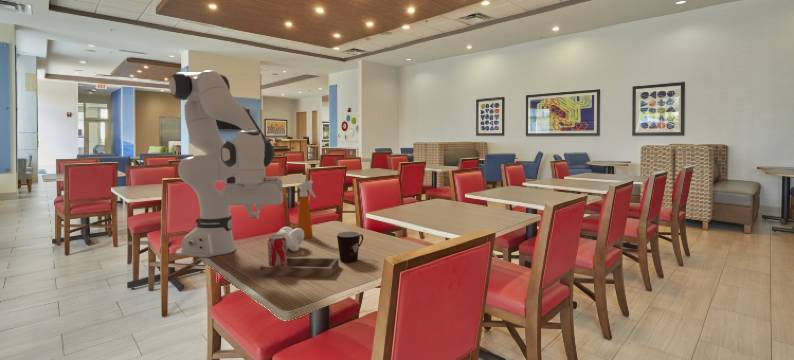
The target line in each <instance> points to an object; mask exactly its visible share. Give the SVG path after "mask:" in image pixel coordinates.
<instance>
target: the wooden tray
mask: <svg viewBox="0 0 794 360" xmlns="http://www.w3.org/2000/svg"><path fill="white" fill-rule="evenodd" d="M339 261H340V257H339V258H338V257H334V258H333V257H300V256H299V257H294V256H293V257H290V256H287V266H269V265H261V266H260V267H259V269H260V276H262V277H265V276H267V277H268V276H269V277H303V278H305V277H307V278H308V277H309V278H311V277H312V278H332V277H333V276H334V274H335V273H336V271H337V270H338V268H339V265H340V264H339Z"/></svg>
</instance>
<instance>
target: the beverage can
mask: <svg viewBox="0 0 794 360" xmlns="http://www.w3.org/2000/svg"><path fill="white" fill-rule="evenodd" d="M267 250H268V251H267V252H268V253H267V254H268V266H287V257H288V249H287V240H286V238H285V236H284V235H277V234H273V235H270V236H269V239H268V240H267Z"/></svg>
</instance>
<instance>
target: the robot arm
mask: <svg viewBox="0 0 794 360" xmlns="http://www.w3.org/2000/svg"><path fill="white" fill-rule="evenodd" d="M230 85H231V84H230V82H229V79H228V78H227V76H226V75H223V74H220V73H218V72H217V71H215V70H211V69H210V70H209V69H208V70H204V71H199V72H198V71H196V72H195V71H194V72H193V71H192V72H189V71H188V72H184V71H179V72H175V73H172V75H171V76H170V77H169V83H168V87H169V91H170V94H171V96H173V98H175V99H177V100H180V101H185V104H184V118H185V124H186V129H187V132H188V136H189V140H190V143H191V145H192V146H193V147H195V149H198V150H200V151H202V152H203V153H205V155H204V154H203V155H192V156H189V157H188V156H187V157H184V158H182V159H181V160H180V161H179V164H178V166H177V174H178V176H179V178H180V179H181V180H182V182H183V183H185V184H187V185H189V187H191V188H192V189H193V191H194V193H195V194H196V195H197V199H198V204H199V213H200V214H199V215H200V217H198V218H197V219H195V220H194V224H196V227H195V228H193V229H192V230H191V231H190V232H188V233H187V234H185V236H184V237H183V238H182V241H181V247H180V248H178V249H177V250H176V251H175V255H176V256H183V257H185V256H186V257H198V258H210V257H215V256H220V255H225V254H229V253H232V252H235V251H236V250H237V246H236V244H235V241H234V236H233V218H232V216H233V215H231V206H244V209H245V210H246V211H247V214H248V218H249V219H259V218H260V212H261V211H262V209H263V206H279V205H281V204H282V203H283V202H284V195H283V194H284V193H283V181H282V180H281V179H280V178H279V177H267V176H266V168H267V167H268V166H270V165H271V164H272V163H273V160H274V159H275V155H276V154H275V153H276V152H275V148H274V146H273V144H272V143H271V142H270V141H269V139H267V137H266V136H265V135H264V133H263V132H262V130H261V128H260V127H259V125H258V124H257V123H256V121H255V119H254V117H253V116H252V115H251V113H250V111H248V109H247V108H246V107H244V106H243V105H241V104H240V103H239V102H238V101H237V100H236V99H235V98H234V96H233V95H232V93H231V87H230ZM217 121H219V122H220V121H221V122H224V123H228V124H231V125H234V126H236V127H238V128H239V129H241V130H238V132H237V133H236V136H235V137H234V138H232V139H230V140H227V141H225V142H224V140H223V139H222V137H221V133H220V131H219V127H218V124H217ZM221 182H222V183H224V186H223V187H222V190H218V189H217V187H216V183H221ZM253 206H255V209H256V210H255V212H253V210H252V207H253Z"/></svg>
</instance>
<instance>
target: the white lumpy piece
mask: <svg viewBox="0 0 794 360" xmlns="http://www.w3.org/2000/svg"><path fill="white" fill-rule="evenodd" d="M276 235H284V236H285V238H286V240H287V250H288V249H289V250H290V251H292V252H298V251H299V250H300V244H302V242H303V241H304V239H305V238H304V231H303V230H302V229H301V228H298V227H297V228H294V229H293V228H292V227H290V226H284V227H282V228H280V229H279V231H277V232H276Z"/></svg>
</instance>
